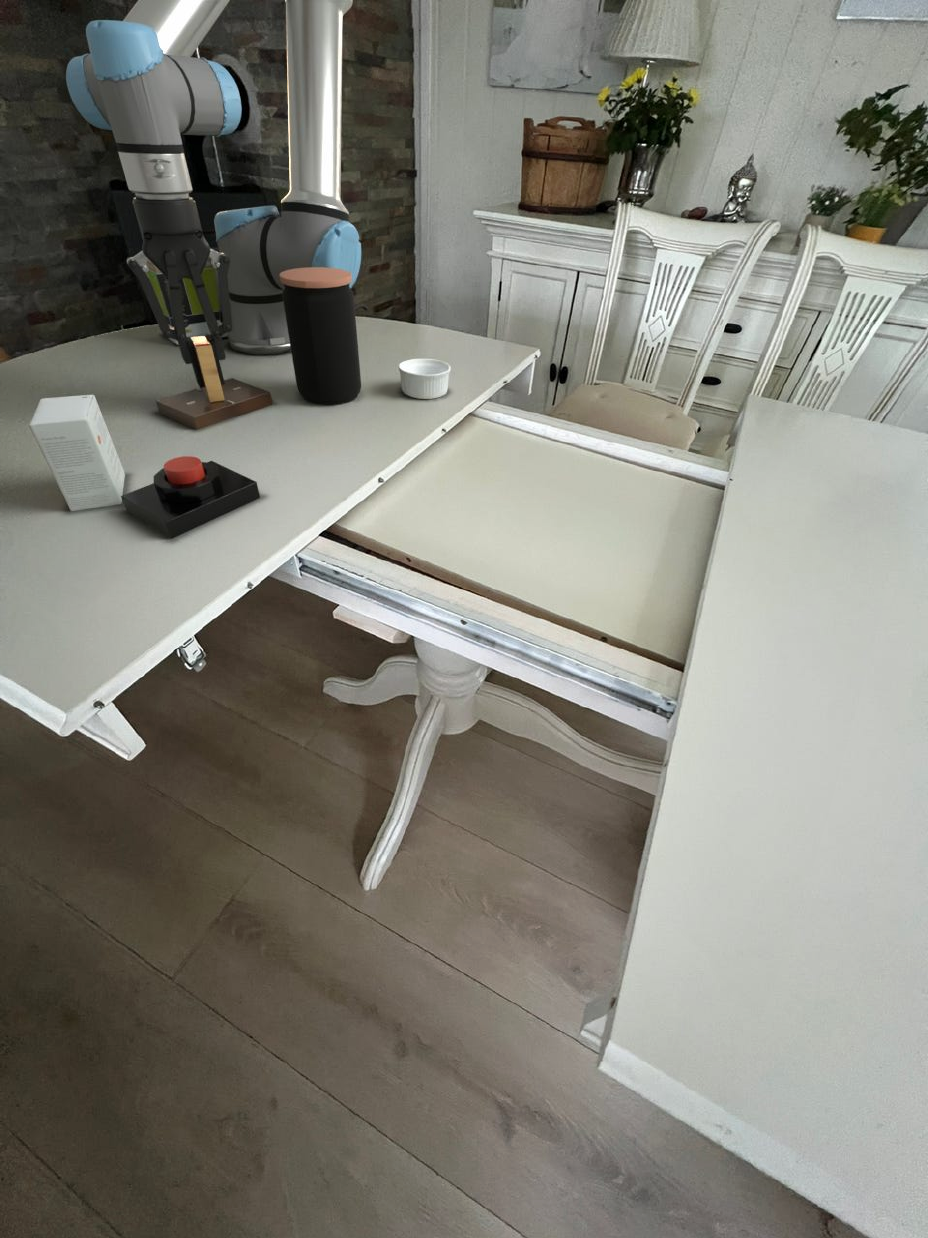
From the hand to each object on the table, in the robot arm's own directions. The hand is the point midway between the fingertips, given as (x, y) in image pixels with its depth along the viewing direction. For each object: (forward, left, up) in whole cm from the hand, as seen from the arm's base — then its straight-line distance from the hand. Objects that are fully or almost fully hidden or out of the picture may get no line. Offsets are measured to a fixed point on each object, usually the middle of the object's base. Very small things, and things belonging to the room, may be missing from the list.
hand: (210, 382), depth 88 cm
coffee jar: (-16, +9, -4) cm, 19 cm away
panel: (0, 0, -4) cm, 4 cm away
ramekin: (-28, +20, -4) cm, 35 cm away
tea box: (-23, -37, -4) cm, 44 cm away
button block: (+20, +24, -4) cm, 32 cm away
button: (+20, +24, 0) cm, 31 cm away
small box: (+26, +13, -4) cm, 29 cm away
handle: (0, 0, -2) cm, 2 cm away
